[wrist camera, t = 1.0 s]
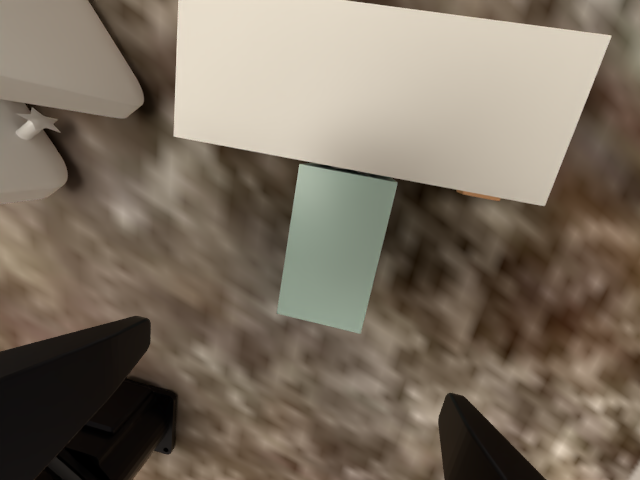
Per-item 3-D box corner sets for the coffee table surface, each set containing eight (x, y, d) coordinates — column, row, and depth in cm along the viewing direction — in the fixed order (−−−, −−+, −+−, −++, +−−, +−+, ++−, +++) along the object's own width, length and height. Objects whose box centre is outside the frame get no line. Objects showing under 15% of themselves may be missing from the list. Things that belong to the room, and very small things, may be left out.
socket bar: (486, 194, 18) (542, 211, 12) (230, 146, 19) (173, 140, 14) (524, 79, 16) (611, 35, 10) (240, 37, 18) (179, -22, 12)
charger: (362, 292, 20) (360, 333, 16) (297, 277, 21) (276, 313, 16) (400, 131, 17) (413, 120, 13) (324, 118, 18) (308, 102, 13)
